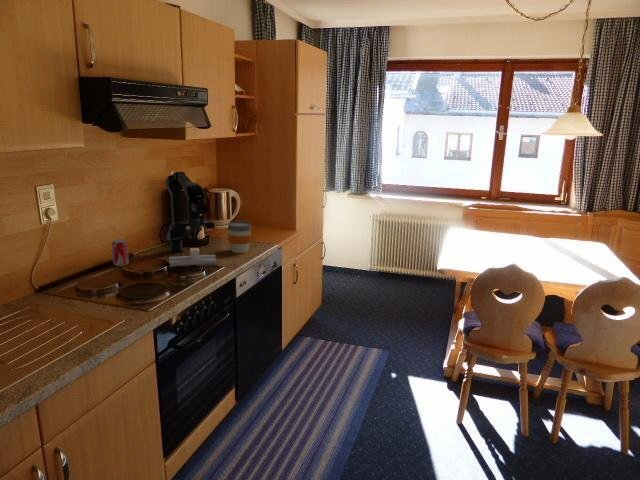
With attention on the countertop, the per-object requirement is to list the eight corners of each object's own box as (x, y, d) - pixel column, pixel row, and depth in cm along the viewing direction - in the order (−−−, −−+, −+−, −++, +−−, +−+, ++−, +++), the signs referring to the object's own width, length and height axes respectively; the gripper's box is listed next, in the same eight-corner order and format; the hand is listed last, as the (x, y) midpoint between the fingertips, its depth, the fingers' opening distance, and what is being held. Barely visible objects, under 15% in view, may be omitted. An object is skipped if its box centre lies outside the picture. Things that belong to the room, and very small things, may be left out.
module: (190, 260, 232) (190, 248, 231) (198, 259, 233) (198, 247, 232) (191, 263, 228) (190, 250, 226) (199, 262, 229) (199, 250, 227)
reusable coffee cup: (235, 255, 248) (235, 227, 245) (223, 249, 258) (223, 222, 254) (255, 251, 256) (255, 224, 253) (243, 246, 266) (243, 220, 262)
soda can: (110, 264, 225) (108, 240, 222) (125, 261, 230) (123, 238, 227) (116, 268, 220) (114, 243, 217) (131, 265, 225) (130, 241, 222)
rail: (169, 262, 232) (169, 256, 231) (214, 259, 239) (214, 254, 238) (169, 268, 222) (169, 262, 222) (217, 265, 229) (216, 259, 229)
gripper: (173, 214, 214) (175, 247, 218) (215, 213, 220) (216, 245, 224) (173, 210, 224) (174, 241, 228) (213, 209, 230) (213, 240, 234)
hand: (194, 242), depth 228 cm, fingers closed
